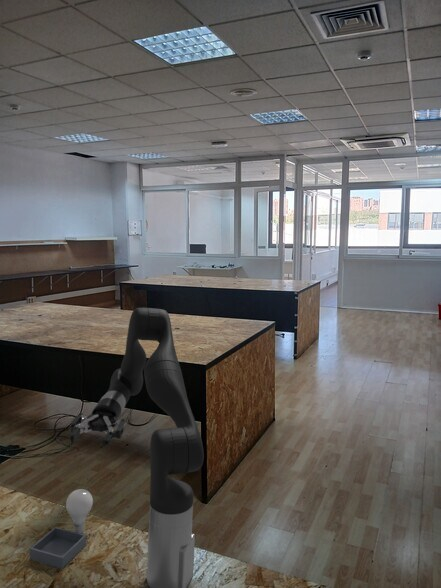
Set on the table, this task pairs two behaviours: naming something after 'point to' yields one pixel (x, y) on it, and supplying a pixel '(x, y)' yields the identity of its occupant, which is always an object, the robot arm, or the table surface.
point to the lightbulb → (79, 508)
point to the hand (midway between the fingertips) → (88, 441)
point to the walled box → (58, 547)
